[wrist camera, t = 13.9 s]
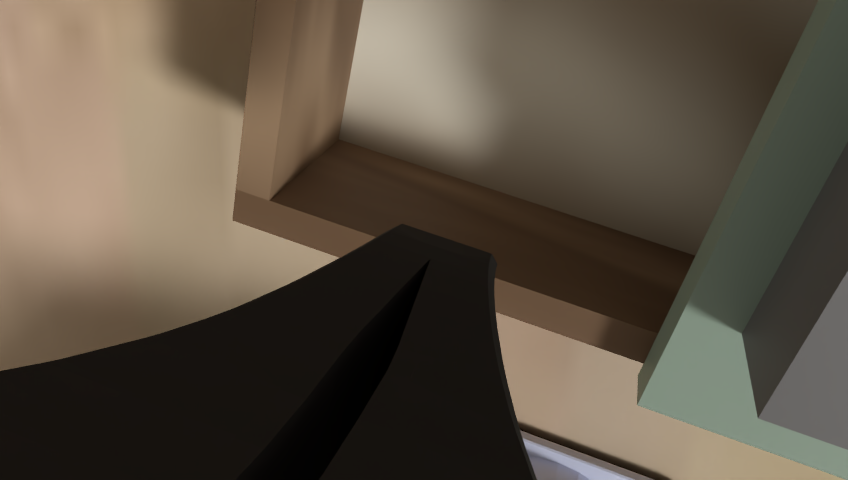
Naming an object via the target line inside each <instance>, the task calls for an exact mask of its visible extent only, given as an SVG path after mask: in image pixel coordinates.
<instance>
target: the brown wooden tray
mask: <svg viewBox="0 0 848 480" xmlns="http://www.w3.org/2000/svg"><path fill="white" fill-rule="evenodd" d="M817 2H818V0H256V7H255V17H254V26H253V35H252V45H251V54H250V63H249V72H248V82H247V91H246V100H245V109H244V119H243V128H242V137H241V147H240V156H239V165H238V174H237V184H236V193H235V202H234V211H233V221H236V222H239V223H242V224H245V225H248V226H250V227H253V228H256V229H259V230H262V231H265V232H268V233H271V234H273V235H276V236H279V237H282V238H285V239H288V240H291V241H293V242H296V243H299V244H302V245H305V246H308V247H311V248H314V249H316V250H319V251H322V252H325V253H328V254H331V255H334V256H337V257H339V258H341V257H342V256H344V255H346V254H348V253H350V252H351V251H353V250H355V249H357V248H358V247H360V246H362V245H364V244H365V243H367V242H369V241H371V240H372V239H374V238H376V237H378V236H379V235H381V234H383V233H385V232H386V231H388V230H390V229H392V228H394V227H396V226H398V225H400V224H405V225H408V226H411V227H414V228H417V229H420V230H423V231H426V232H429V233H432V234H435V235H438V236H441V237H444V238H447V239H450V240H453V241H456V242H459V243H462V244H465V245H468V246H471V247H474V248H477V249H480V250H483V251H486V252H488V253H491V254H492V255H493V257H494V259H495V260H496V262H497V267H496V272H495V283H494V296H495V312H497V313H500V314H503V315H506V316H509V317H512V318H515V319H518V320H520V321H523V322H526V323H529V324H532V325H535V326H538V327H541V328H543V329H546V330H549V331H552V332H555V333H558V334H561V335H563V336H566V337H569V338H572V339H575V340H578V341H581V342H584V343H586V344H589V345H592V346H595V347H598V348H601V349H604V350H607V351H609V352H612V353H615V354H618V355H621V356H624V357H627V358H630V359H632V360H635V361H638V362H641V363H644V362H645V360H646V358H647V356H648V354H649V352H650V350H651V348H652V345H653V343H654V341H655V339H656V337H657V335H658V333H659V331H660V329H661V327H662V325H663V323H664V320H665V318H666V316H667V314H668V312H669V310H670V308H671V306H672V304H673V302H674V300H675V298H676V295H677V293H678V291H679V289H680V287H681V285H682V283H683V281H684V279H685V277H686V275H687V273H688V271H689V268H690V266H691V264H692V262H693V260H694V258H695V256H696V254H697V252H698V250H699V248H700V246H701V243H702V241H703V239H704V237H705V235H706V233H707V231H708V229H709V227H710V225H711V223H712V221H713V219H714V216H715V214H716V212H717V210H718V208H719V206H720V204H721V202H722V200H723V198H724V196H725V194H726V191H727V189H728V187H729V185H730V183H731V181H732V179H733V177H734V175H735V173H736V171H737V169H738V166H739V164H740V162H741V160H742V158H743V156H744V154H745V152H746V150H747V148H748V146H749V144H750V142H751V139H752V137H753V135H754V133H755V131H756V129H757V127H758V125H759V123H760V121H761V119H762V117H763V114H764V112H765V110H766V108H767V106H768V104H769V102H770V100H771V98H772V96H773V94H774V92H775V90H776V87H777V85H778V83H779V81H780V79H781V77H782V75H783V73H784V71H785V69H786V67H787V65H788V62H789V60H790V58H791V56H792V54H793V52H794V50H795V48H796V46H797V44H798V42H799V40H800V37H801V35H802V33H803V31H804V29H805V27H806V25H807V23H808V21H809V19H810V17H811V15H812V13H813V10H814V8H815V6H816V4H817Z"/></svg>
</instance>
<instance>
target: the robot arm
mask: <svg viewBox="0 0 848 480" xmlns="http://www.w3.org/2000/svg"><path fill="white" fill-rule="evenodd" d="M496 267H497V262H496V260H495V259H494V257H493V255H492V254H491V253H488V252H486V251H483V250H480V249H477V248H474V247H471V246H468V245H465V244H462V243H459V242H456V241H453V240H450V239H447V238H444V237H441V236H438V235H435V234H432V233H429V232H426V231H423V230H420V229H417V228H414V227H411V226H408V225H405V224H400V225H398V226H396V227H394V228H392V229H390V230H388V231H386V232H385V233H383V234H381V235H379V236H378V237H376V238H374V239H372V240H371V241H369V242H367V243H365V244H364V245H362V246H360V247H358V248H357V249H355V250H353V251H351V252H350V253H348V254H346V255H344V256H342V257H341V258H339V259H337V260H335V261H333V262H331V263H329V264H327V265H325V266H323V267H321V268H320V269H318V270H316V271H314V272H312V273H310V274H308V275H306V276H304V277H302V278H300V279H298V280H296V281H294V282H292V283H290V284H288V285H286V286H284V287H281V288H279V289H277V290H275V291H272V292H270V293H268V294H266V295H263V296H261V297H259V298H257V299H254V300H252V301H250V302H248V303H245V304H243V305H241V306H238V307H236V308H233V309H231V310H228V311H226V312H223V313H220V314H218V315H215V316H212V317H209V318H207V319H204V320H201V321H198V322H195V323H191V324H188V325H185V326H182V327H179V328H176V329H173V330H170V331H167V332H164V333H161V334H157V335H154V336H151V337H147V338H143V339H139V340H135V341H131V342H127V343H123V344H119V345H115V346H111V347H107V348H103V349H99V350H95V351H91V352H88V353H84V354H80V355H76V356H72V357H68V358H64V359H59V360H55V361H50V362H45V363H40V364H35V365H30V366H24V367H19V368H14V369H9V370H4V371H0V480H654V479H651V478H648V477H646V476H643V475H640V474H637V473H635V472H632V471H629V470H627V469H624V468H621V467H618V466H616V465H613V464H610V463H608V462H605V461H602V460H599V459H597V458H594V457H591V456H589V455H586V454H583V453H580V452H578V451H575V450H572V449H569V448H567V447H564V446H561V445H559V444H556V443H553V442H550V441H548V440H545V439H542V438H540V437H537V436H534V435H531V434H529V433H526V432H523V431H521V430H520V428H519V425H518V422H517V418H516V415H515V411H514V407H513V403H512V399H511V396H510V392H509V388H508V384H507V379H506V375H505V370H504V365H503V360H502V354H501V348H500V342H499V336H498V330H497V321H496V312H495V296H494V283H495V272H496Z"/></svg>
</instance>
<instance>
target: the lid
mask: <svg viewBox="0 0 848 480" xmlns="http://www.w3.org/2000/svg"><path fill="white" fill-rule="evenodd" d="M637 405H638V406H641V407H644V408H646V409H649V410H652V411H655V412H658V413H660V414H663V415H666V416H669V417H672V418H675V419H677V420H680V421H683V422H686V423H689V424H691V425H694V426H697V427H700V428H703V429H705V430H708V431H711V432H714V433H717V434H720V435H722V436H725V437H728V438H731V439H734V440H736V441H739V442H742V443H745V444H748V445H750V446H753V447H756V448H759V449H762V450H764V451H767V452H770V453H773V454H776V455H779V456H781V457H784V458H787V459H790V460H793V461H795V462H798V463H801V464H804V465H807V466H809V467H812V468H815V469H818V470H821V471H823V472H826V473H829V474H832V475H835V476H838V477H840V478H843V479H846V480H848V0H818V2H817V4H816V6H815V8H814V10H813V13H812V15H811V17H810V19H809V21H808V23H807V25H806V27H805V29H804V31H803V33H802V35H801V37H800V40H799V42H798V44H797V46H796V48H795V50H794V52H793V54H792V56H791V58H790V60H789V62H788V65H787V67H786V69H785V71H784V73H783V75H782V77H781V79H780V81H779V83H778V85H777V87H776V90H775V92H774V94H773V96H772V98H771V100H770V102H769V104H768V106H767V108H766V110H765V112H764V114H763V117H762V119H761V121H760V123H759V125H758V127H757V129H756V131H755V133H754V135H753V137H752V139H751V142H750V144H749V146H748V148H747V150H746V152H745V154H744V156H743V158H742V160H741V162H740V164H739V166H738V169H737V171H736V173H735V175H734V177H733V179H732V181H731V183H730V185H729V187H728V189H727V191H726V194H725V196H724V198H723V200H722V202H721V204H720V206H719V208H718V210H717V212H716V214H715V216H714V219H713V221H712V223H711V225H710V227H709V229H708V231H707V233H706V235H705V237H704V239H703V241H702V243H701V246H700V248H699V250H698V252H697V254H696V256H695V258H694V260H693V262H692V264H691V266H690V268H689V271H688V273H687V275H686V277H685V279H684V281H683V283H682V285H681V287H680V289H679V291H678V293H677V295H676V298H675V300H674V302H673V304H672V306H671V308H670V310H669V312H668V314H667V316H666V318H665V320H664V323H663V325H662V327H661V329H660V331H659V333H658V335H657V337H656V339H655V341H654V343H653V345H652V348H651V350H650V352H649V354H648V356H647V358H646V360H645V362H644V364H643V366H642V368H641V370H640V372H639V375H638V395H637Z"/></svg>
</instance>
